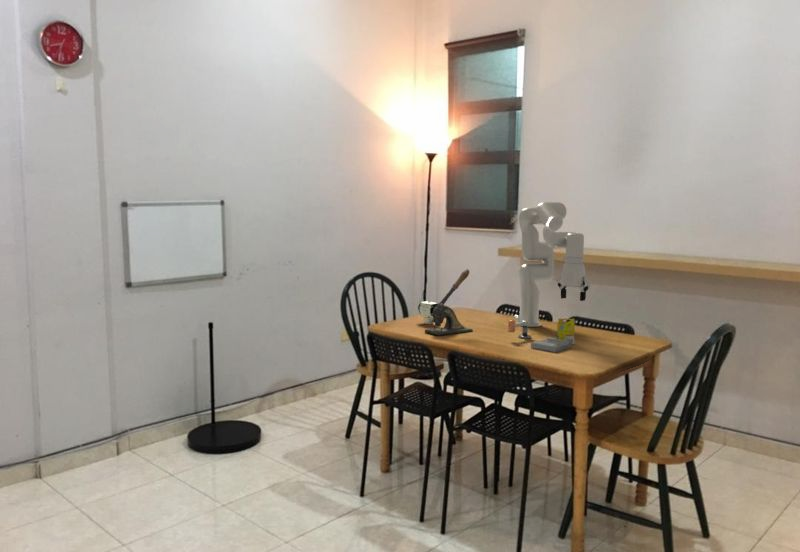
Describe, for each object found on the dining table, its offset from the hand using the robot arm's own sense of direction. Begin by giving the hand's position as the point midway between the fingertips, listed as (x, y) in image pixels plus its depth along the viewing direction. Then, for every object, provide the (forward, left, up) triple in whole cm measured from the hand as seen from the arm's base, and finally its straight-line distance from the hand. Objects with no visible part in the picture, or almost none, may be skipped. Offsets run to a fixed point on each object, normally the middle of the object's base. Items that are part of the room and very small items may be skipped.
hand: (572, 299), depth 291 cm
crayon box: (-1, -3, -20) cm, 20 cm away
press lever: (-21, -10, -16) cm, 28 cm away
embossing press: (-53, -21, -20) cm, 61 cm away
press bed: (-1, -15, -20) cm, 25 cm away
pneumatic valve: (-74, -13, -20) cm, 78 cm away
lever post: (-21, -5, -20) cm, 30 cm away
